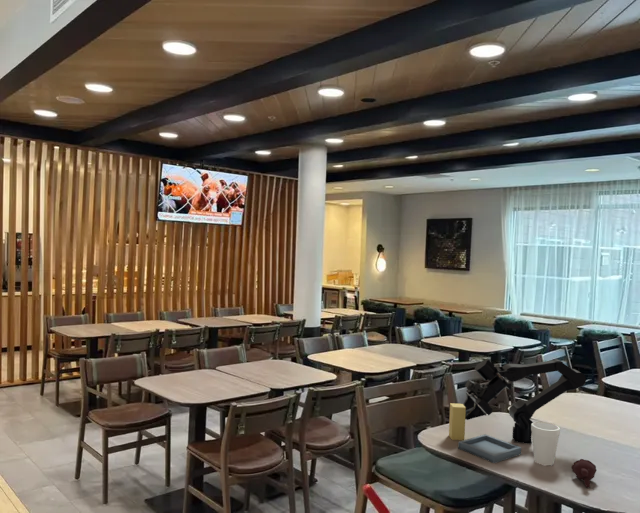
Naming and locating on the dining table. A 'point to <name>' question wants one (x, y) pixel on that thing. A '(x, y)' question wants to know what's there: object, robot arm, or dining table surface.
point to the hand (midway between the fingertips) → (463, 415)
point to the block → (457, 421)
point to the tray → (489, 448)
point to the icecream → (584, 470)
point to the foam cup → (545, 442)
